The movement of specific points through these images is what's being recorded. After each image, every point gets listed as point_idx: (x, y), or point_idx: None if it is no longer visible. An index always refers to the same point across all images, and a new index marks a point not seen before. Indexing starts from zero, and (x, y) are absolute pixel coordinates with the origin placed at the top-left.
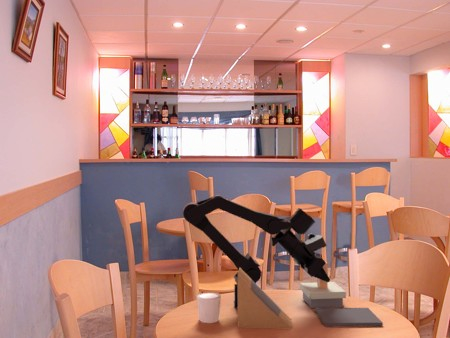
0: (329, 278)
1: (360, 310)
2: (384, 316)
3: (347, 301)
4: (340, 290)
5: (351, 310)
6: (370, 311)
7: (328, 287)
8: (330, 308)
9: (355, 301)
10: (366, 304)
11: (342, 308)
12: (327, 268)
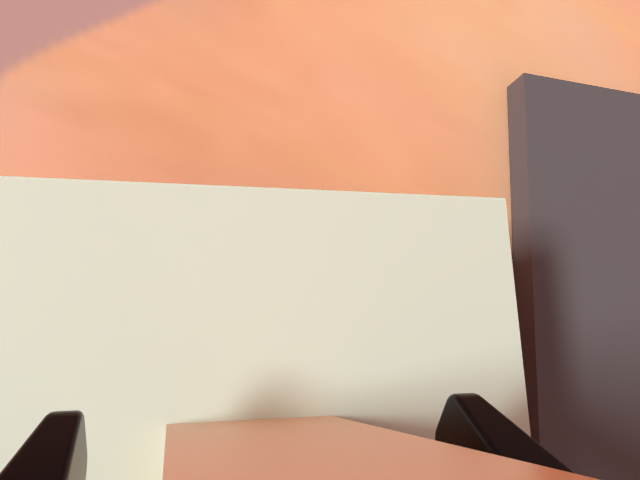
0: (504, 417)
1: (600, 171)
2: (623, 28)
3: (209, 147)
4: (451, 249)
5: (601, 251)
6: (619, 99)
7: (283, 385)
8: (553, 447)
9: (219, 67)
10: (326, 12)
11: (553, 318)
12: (524, 468)
